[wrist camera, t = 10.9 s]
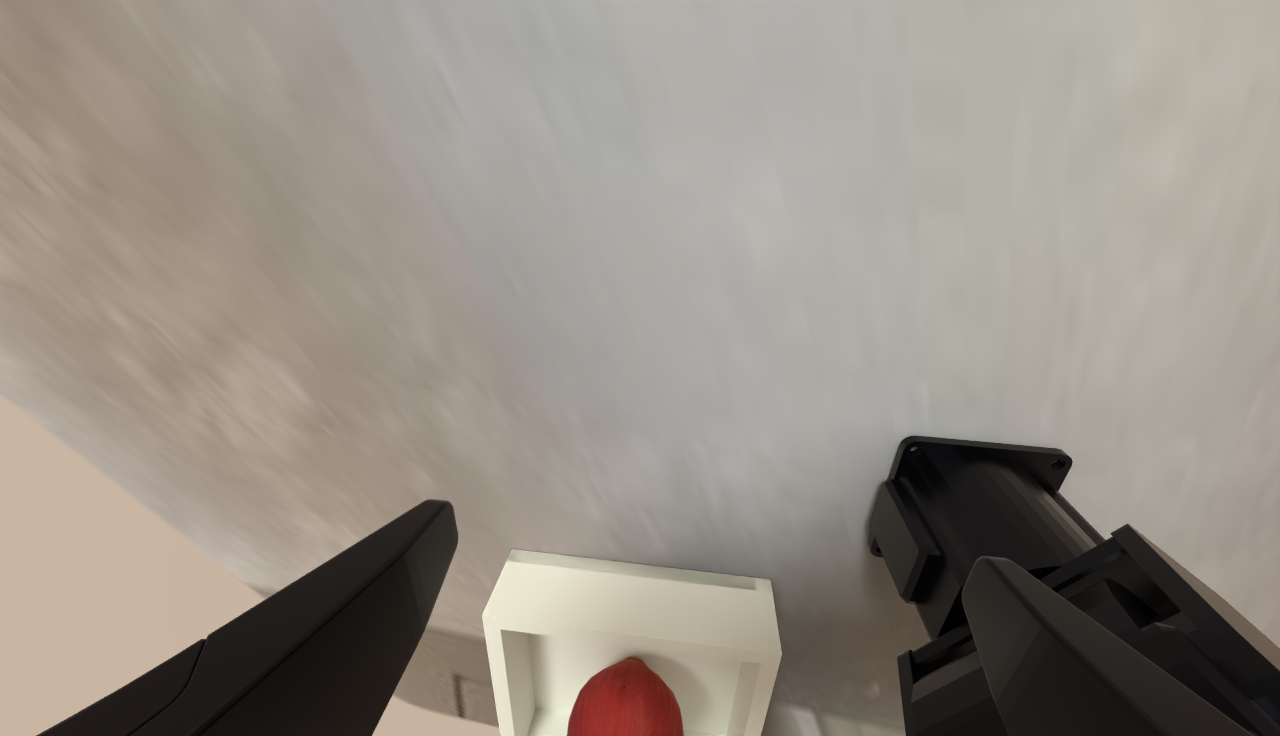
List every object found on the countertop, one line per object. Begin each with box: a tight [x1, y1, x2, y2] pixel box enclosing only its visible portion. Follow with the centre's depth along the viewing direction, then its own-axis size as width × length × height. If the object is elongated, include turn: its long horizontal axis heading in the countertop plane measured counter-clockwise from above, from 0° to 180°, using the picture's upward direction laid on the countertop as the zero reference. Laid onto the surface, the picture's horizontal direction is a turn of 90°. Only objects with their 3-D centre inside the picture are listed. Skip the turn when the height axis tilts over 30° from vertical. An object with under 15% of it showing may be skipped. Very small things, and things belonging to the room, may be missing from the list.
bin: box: [482, 549, 782, 736], centre depth 27 cm, size 14×14×4 cm
